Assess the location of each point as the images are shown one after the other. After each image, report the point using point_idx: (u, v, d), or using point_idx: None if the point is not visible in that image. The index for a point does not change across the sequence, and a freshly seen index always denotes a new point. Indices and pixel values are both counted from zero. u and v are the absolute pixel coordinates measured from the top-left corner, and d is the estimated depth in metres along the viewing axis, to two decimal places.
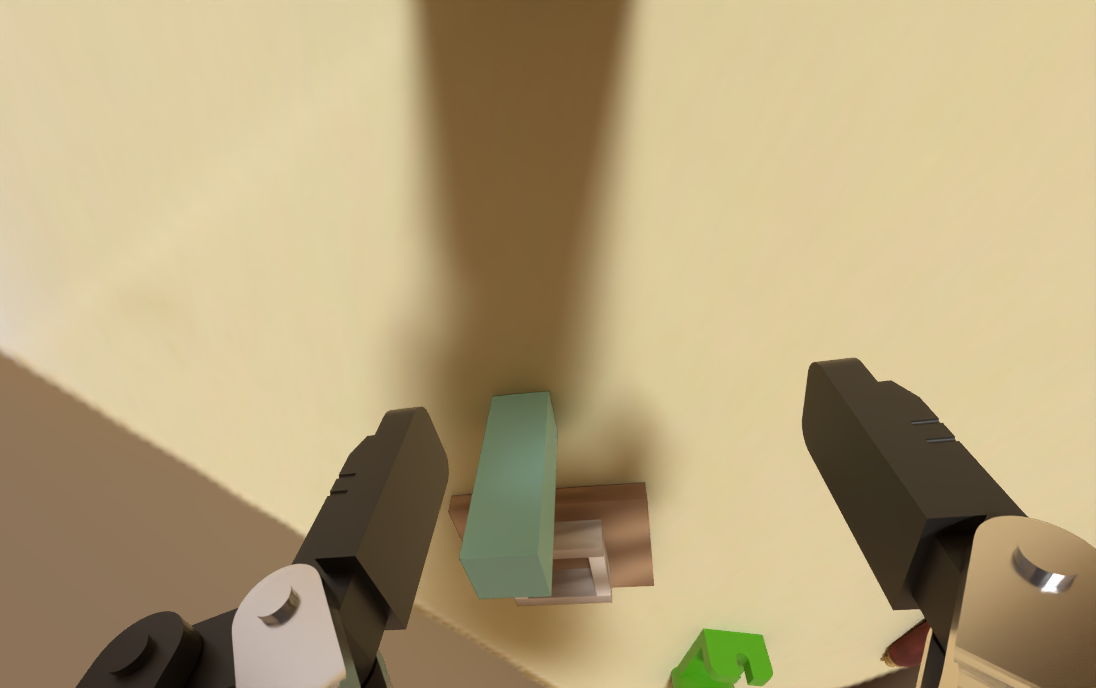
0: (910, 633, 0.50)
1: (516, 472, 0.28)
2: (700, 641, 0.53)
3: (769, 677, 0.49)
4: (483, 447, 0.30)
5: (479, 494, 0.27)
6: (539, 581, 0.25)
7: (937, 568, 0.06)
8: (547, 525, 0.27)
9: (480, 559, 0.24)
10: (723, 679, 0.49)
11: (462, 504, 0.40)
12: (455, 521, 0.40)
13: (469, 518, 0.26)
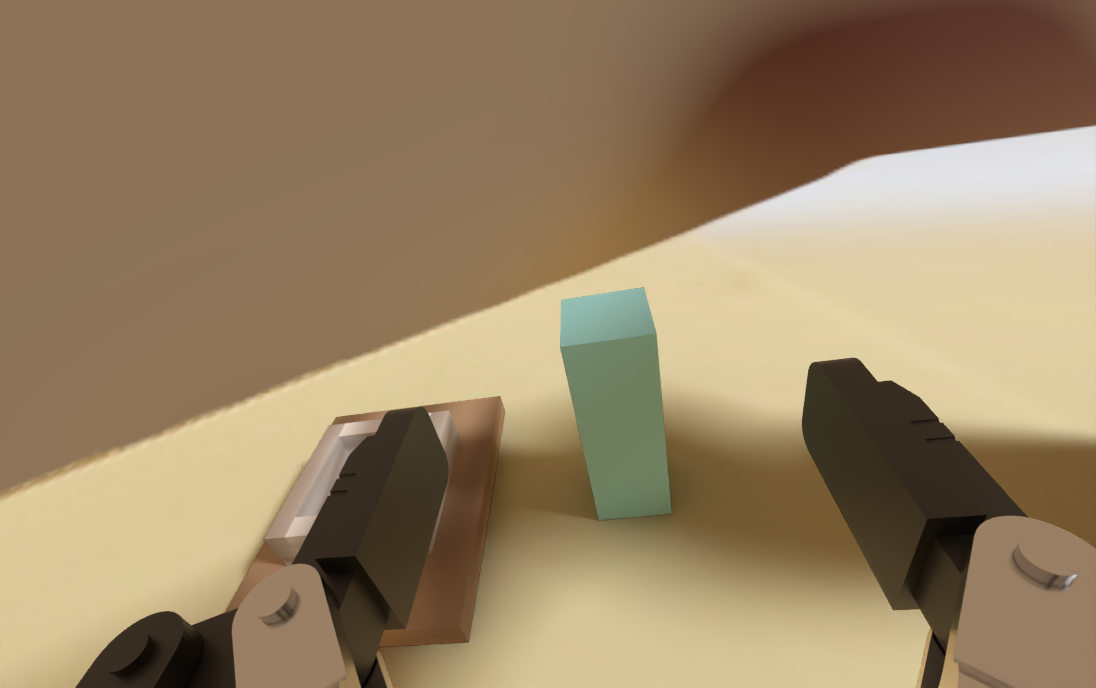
0: None
1: None
2: None
3: None
4: None
5: None
6: (596, 336, 0.20)
7: (937, 568, 0.06)
8: (615, 393, 0.22)
9: (644, 298, 0.22)
10: None
11: (500, 412, 0.35)
12: (481, 400, 0.35)
13: None
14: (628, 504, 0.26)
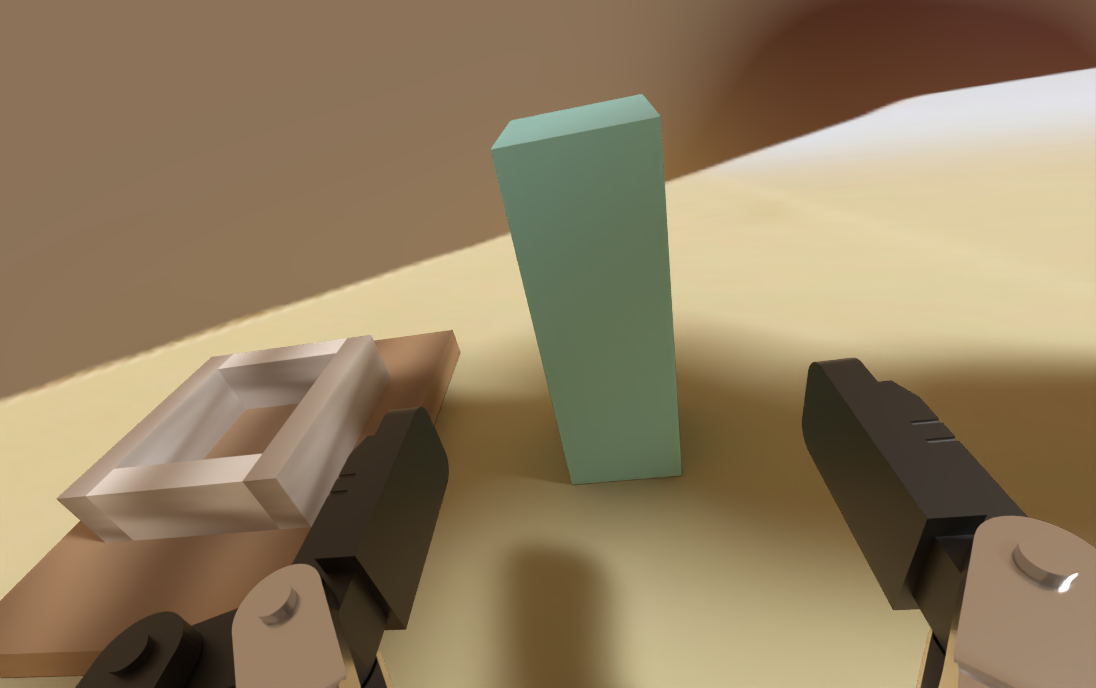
0: None
1: None
2: None
3: None
4: None
5: None
6: (554, 134, 0.12)
7: (937, 568, 0.06)
8: (591, 249, 0.13)
9: (642, 99, 0.13)
10: None
11: (451, 350, 0.26)
12: (428, 335, 0.26)
13: None
14: (616, 458, 0.17)
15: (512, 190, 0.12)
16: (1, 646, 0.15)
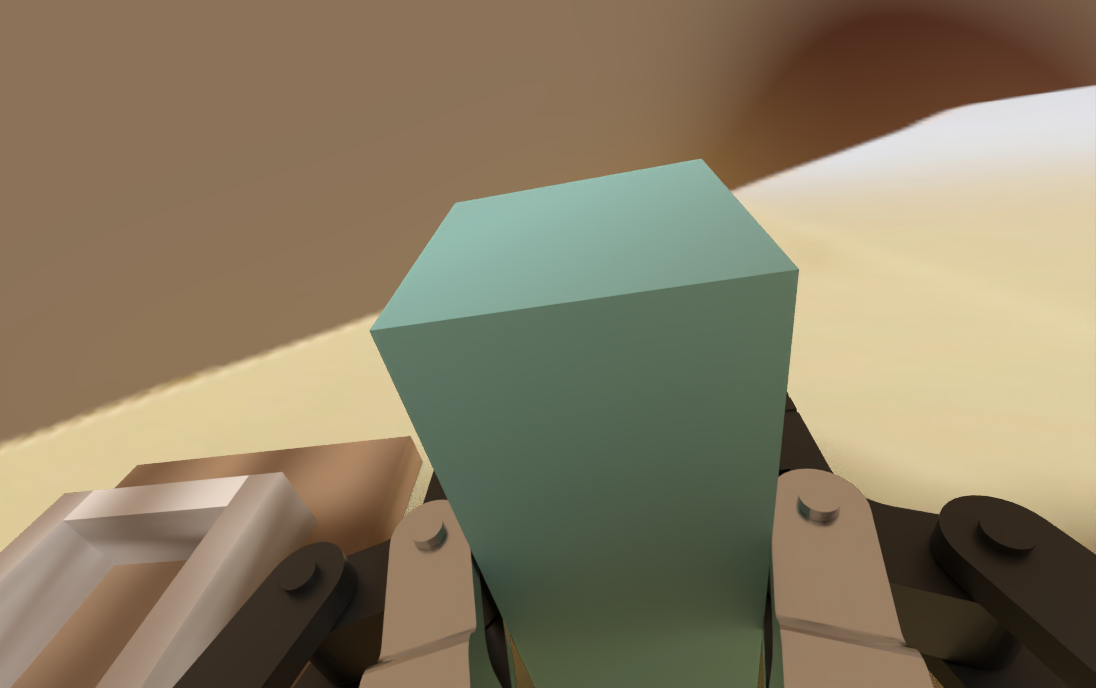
0: None
1: None
2: None
3: None
4: None
5: None
6: (525, 290, 0.05)
7: None
8: (609, 505, 0.06)
9: (710, 179, 0.07)
10: None
11: (407, 466, 0.19)
12: (377, 443, 0.20)
13: None
14: None
15: (432, 405, 0.05)
16: None
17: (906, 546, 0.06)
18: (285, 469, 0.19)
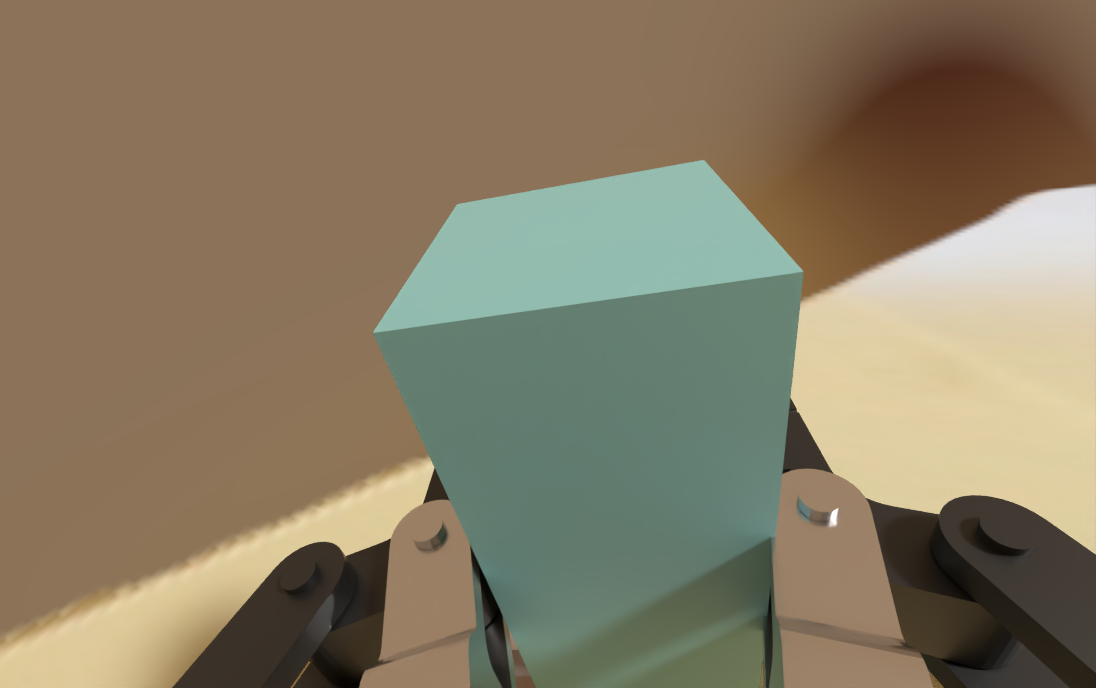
0: None
1: None
2: None
3: None
4: None
5: None
6: (527, 292, 0.05)
7: None
8: (611, 507, 0.06)
9: (713, 180, 0.07)
10: None
11: None
12: None
13: None
14: None
15: (435, 407, 0.05)
16: None
17: (906, 546, 0.06)
18: None
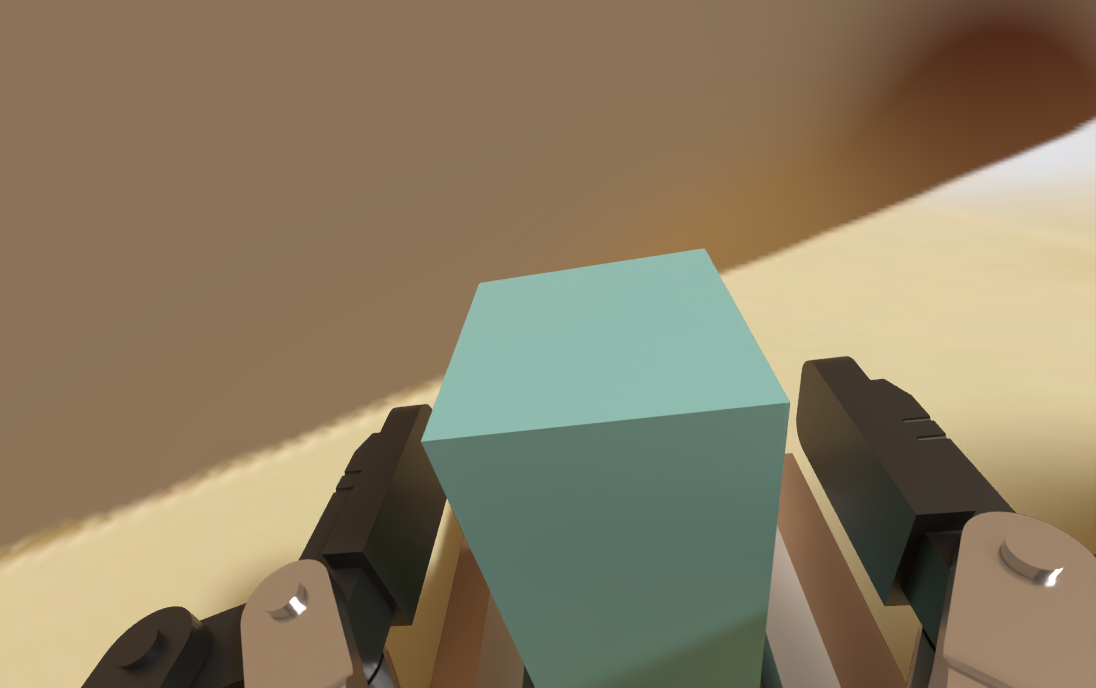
0: None
1: None
2: None
3: None
4: None
5: None
6: (554, 405, 0.06)
7: (926, 564, 0.06)
8: (624, 575, 0.07)
9: (713, 278, 0.07)
10: None
11: None
12: None
13: None
14: None
15: (471, 496, 0.06)
16: None
17: None
18: None
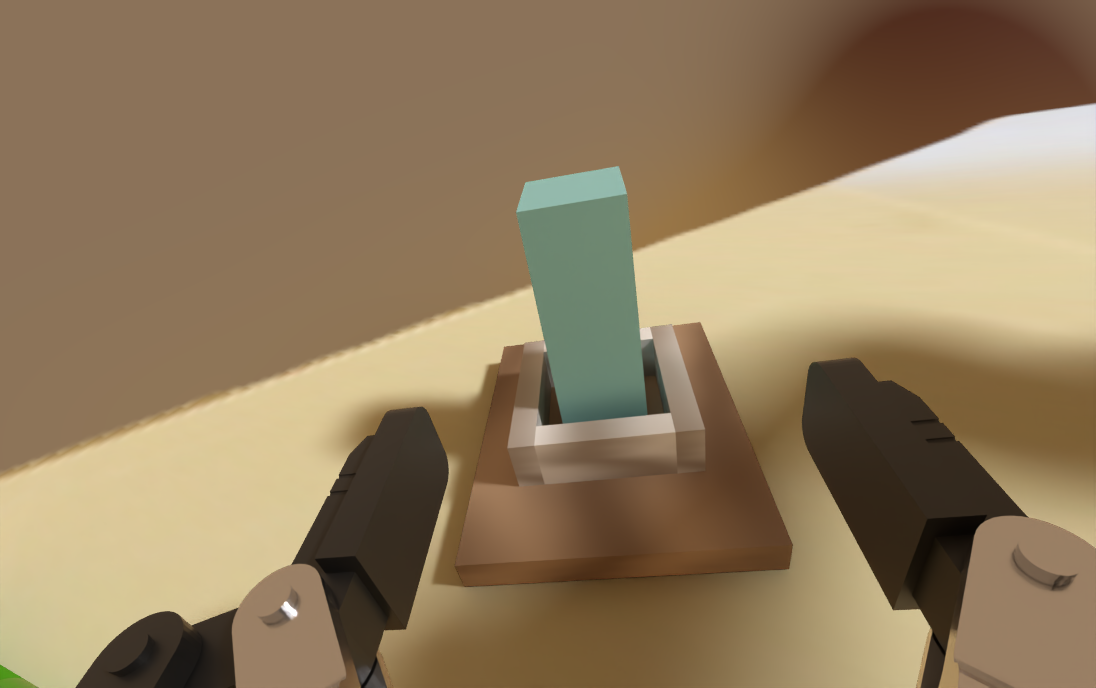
0: None
1: None
2: None
3: None
4: None
5: None
6: (558, 202, 0.18)
7: (937, 568, 0.06)
8: (582, 276, 0.19)
9: (617, 173, 0.19)
10: None
11: None
12: (679, 326, 0.31)
13: None
14: None
15: (529, 237, 0.18)
16: (501, 557, 0.20)
17: None
18: None
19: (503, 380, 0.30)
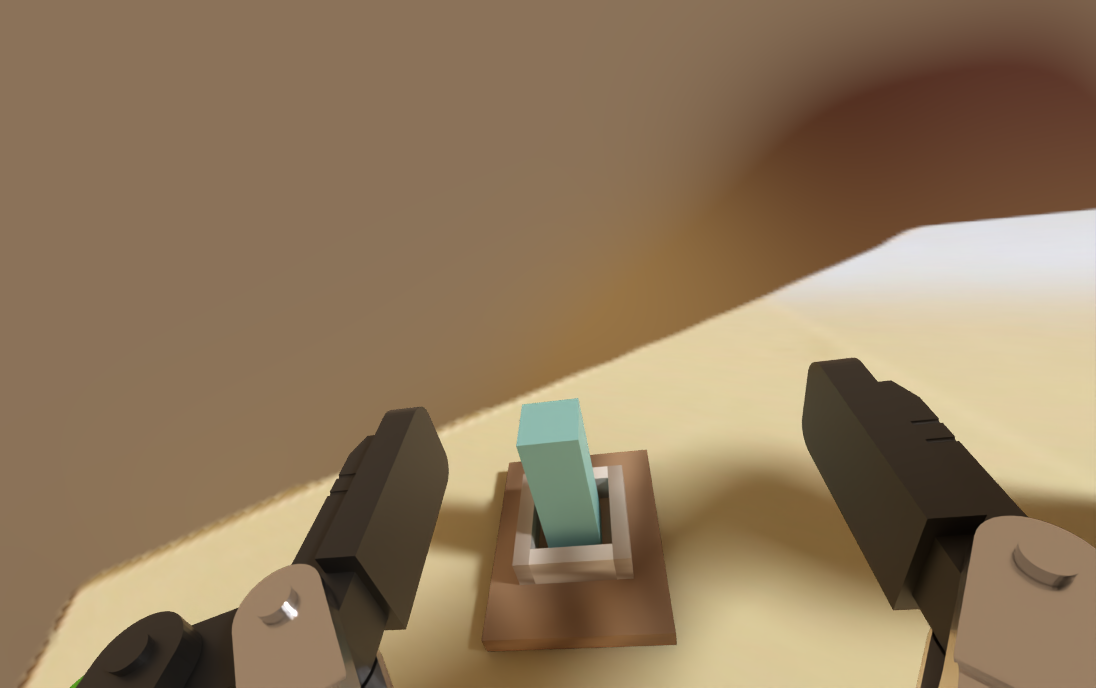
0: None
1: (589, 475, 0.34)
2: None
3: None
4: (592, 470, 0.37)
5: (586, 441, 0.35)
6: (540, 439, 0.31)
7: (937, 568, 0.06)
8: (555, 474, 0.32)
9: (576, 408, 0.33)
10: None
11: None
12: (632, 453, 0.44)
13: None
14: (571, 545, 0.36)
15: (524, 456, 0.31)
16: (509, 636, 0.33)
17: None
18: (592, 464, 0.44)
19: (509, 494, 0.43)
